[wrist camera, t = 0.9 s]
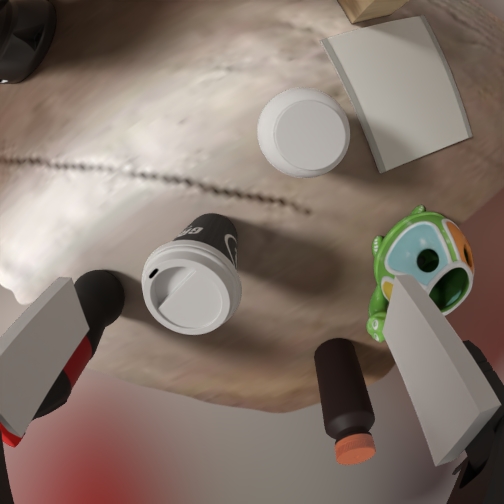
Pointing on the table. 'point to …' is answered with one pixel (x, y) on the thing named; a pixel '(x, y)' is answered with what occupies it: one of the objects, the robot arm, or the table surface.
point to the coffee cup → (194, 277)
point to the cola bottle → (98, 317)
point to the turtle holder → (421, 264)
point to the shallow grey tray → (399, 89)
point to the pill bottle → (303, 132)
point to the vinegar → (345, 401)
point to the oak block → (369, 8)
